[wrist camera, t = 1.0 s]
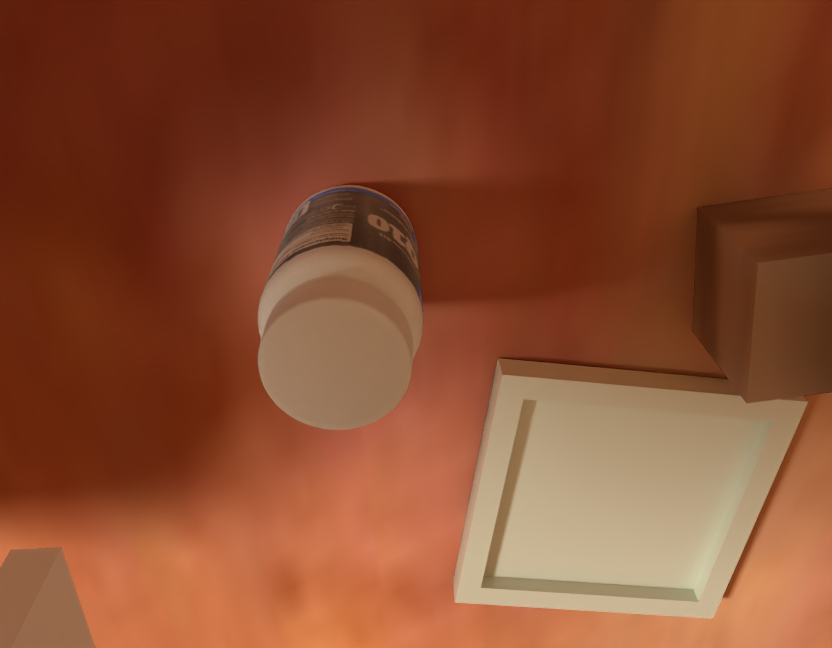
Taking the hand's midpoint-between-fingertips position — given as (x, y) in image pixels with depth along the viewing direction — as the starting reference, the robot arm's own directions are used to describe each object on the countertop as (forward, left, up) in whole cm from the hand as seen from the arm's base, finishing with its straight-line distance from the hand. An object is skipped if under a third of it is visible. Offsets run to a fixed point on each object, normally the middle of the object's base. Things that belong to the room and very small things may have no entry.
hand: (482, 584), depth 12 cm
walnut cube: (+12, 0, -16) cm, 20 cm away
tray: (+9, -11, -16) cm, 21 cm away
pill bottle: (-3, -1, -16) cm, 16 cm away
